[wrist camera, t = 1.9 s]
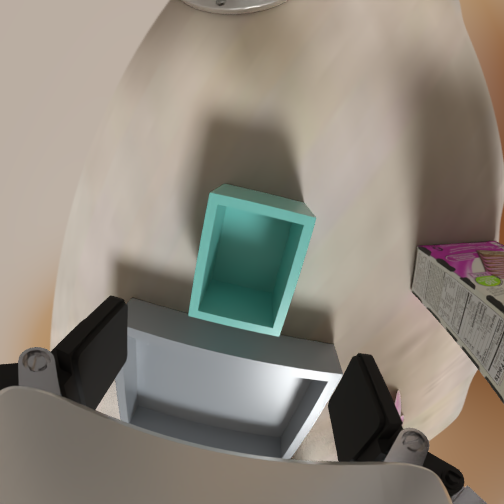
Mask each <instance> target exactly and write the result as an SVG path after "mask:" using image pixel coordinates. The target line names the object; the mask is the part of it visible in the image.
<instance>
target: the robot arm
mask: <svg viewBox="0 0 504 504" xmlns="http://www.w3.org/2000/svg"><path fill="white" fill-rule="evenodd" d="M182 1H183V2H184V3H186V4H187V5H189V6H192V7H194V8H196V9H199V10H203V11H206V12H210V13H219V14H243V13H253V12H257V11H261V10H266V9H269V8H272V7H275V6H277V5H280V4H282V3H284V2H286V1H288V0H182ZM221 5H223V6H221ZM127 327H128V305H127V304H125V302H124V300H123V299H121V298H118V297H115V296H109V297H108V298H107V299H106V300H105V301H104V302H103V303H102V304H101V305H100V306H99V307H97V308H96V309H95V310H94V311H93V312H92V313H91V314H90V315H89V316H88V317H87V318H86V319H84V320H83V321H81V322H80V323H79V324H78V325H77V326H76V327H75V328H74V329H73V330H72V331H71V332H70V333H69V334H68V335H67V336H66V337H65V338H64V339H63V340H62V341H61V342H60V343H59V344H58V345H57V346H56V347H55V348H54V349H53V350H52V351H51V352H50V351H48V350H47V349H44V348H40V347H34V348H29V349H27V350H25V351H24V352H22V354H21V355H20V357H19V361H18V363H13V364H1V365H0V504H487V503H486V502H484V500H483V499H481V498H480V497H479V496H478V495H477V494H476V493H475V492H474V491H473V490H472V489H471V488H470V487H468V486H466V487H464V477H463V475H462V473H461V472H460V471H459V470H458V469H456V468H455V467H454V466H452V465H450V464H448V463H446V462H445V461H443V460H441V459H439V458H438V457H436V456H434V455H433V454H431V453H429V452H428V450H429V441H428V439H427V437H426V436H425V435H424V434H423V433H422V432H420V431H419V430H417V429H414V428H405V429H403V428H402V424H403V422H402V420H401V418H400V415H399V413H398V411H397V408H396V406H395V404H394V402H393V399H392V397H391V395H390V393H389V390H388V388H387V386H386V384H385V382H384V379H383V377H382V375H381V373H380V371H379V369H378V367H377V364H376V362H375V360H374V358H373V356H372V355H369V354H361V353H359V354H357V356H353V357H352V359H351V361H350V363H349V365H348V367H347V369H346V371H345V373H344V375H343V377H342V378H341V380H340V382H339V384H338V386H337V388H336V390H335V391H334V393H333V395H332V397H331V398H330V400H329V404H328V409H329V414H330V419H331V424H332V429H333V434H334V439H335V445H336V450H337V456H338V461H339V462H332V461H307V460H294V459H283V458H274V457H266V456H258V455H251V454H245V453H239V452H233V451H228V450H223V449H218V448H213V447H209V446H204V445H200V444H196V443H192V442H188V441H184V440H180V439H177V438H173V437H169V436H166V435H163V434H159V433H156V432H153V431H150V430H147V429H144V428H141V427H138V426H135V425H132V424H130V423H127V422H124V421H122V420H119V419H116V418H114V417H111V416H108V415H106V414H103V413H101V412H98V411H96V410H95V409H96V408H97V406H98V405H99V403H100V401H101V400H102V398H103V397H104V395H105V393H106V392H107V390H108V389H109V387H110V386H111V384H112V383H113V381H114V379H115V378H116V376H117V375H118V373H119V372H120V370H121V369H122V367H123V366H124V364H125V362H126V360H127V355H128V351H127Z"/></svg>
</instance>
